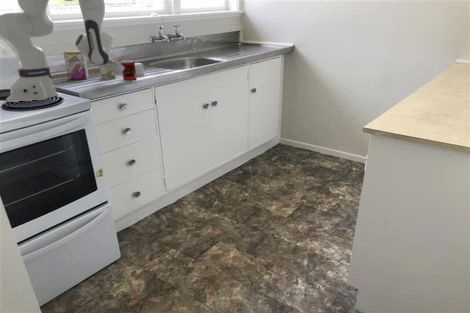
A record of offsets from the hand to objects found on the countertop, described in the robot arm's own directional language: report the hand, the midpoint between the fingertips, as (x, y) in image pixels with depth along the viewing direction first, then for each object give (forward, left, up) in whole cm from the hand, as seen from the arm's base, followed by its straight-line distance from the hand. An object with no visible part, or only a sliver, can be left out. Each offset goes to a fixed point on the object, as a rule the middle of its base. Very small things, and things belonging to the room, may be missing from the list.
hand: (120, 73), depth 207 cm
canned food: (+6, +2, -5) cm, 8 cm away
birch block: (-4, +16, -4) cm, 17 cm away
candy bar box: (-20, +25, -5) cm, 33 cm away
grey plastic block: (+14, +16, -4) cm, 21 cm away
